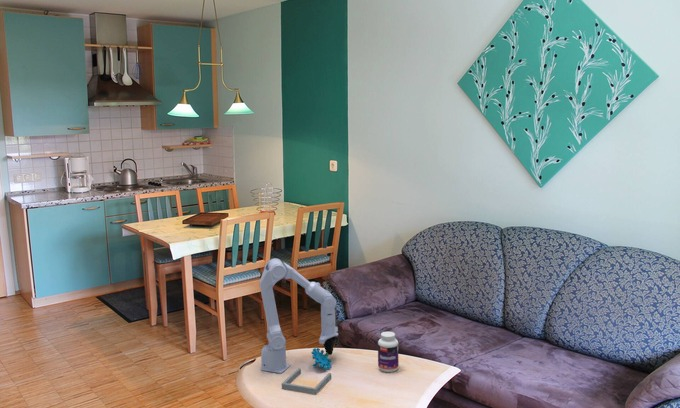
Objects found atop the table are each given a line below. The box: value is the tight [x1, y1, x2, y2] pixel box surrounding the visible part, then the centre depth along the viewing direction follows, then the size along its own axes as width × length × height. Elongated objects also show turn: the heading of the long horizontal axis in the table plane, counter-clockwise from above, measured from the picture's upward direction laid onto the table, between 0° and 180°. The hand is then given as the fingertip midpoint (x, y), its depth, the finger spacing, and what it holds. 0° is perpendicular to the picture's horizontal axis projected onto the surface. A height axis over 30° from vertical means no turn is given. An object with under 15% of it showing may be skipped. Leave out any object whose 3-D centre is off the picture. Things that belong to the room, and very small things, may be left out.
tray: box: [281, 367, 332, 396], centre depth 224 cm, size 14×14×2 cm
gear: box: [311, 347, 333, 371], centre depth 238 cm, size 11×6×10 cm
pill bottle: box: [377, 331, 400, 373], centre depth 234 cm, size 8×8×14 cm
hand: (329, 354), depth 243 cm, fingers closed
